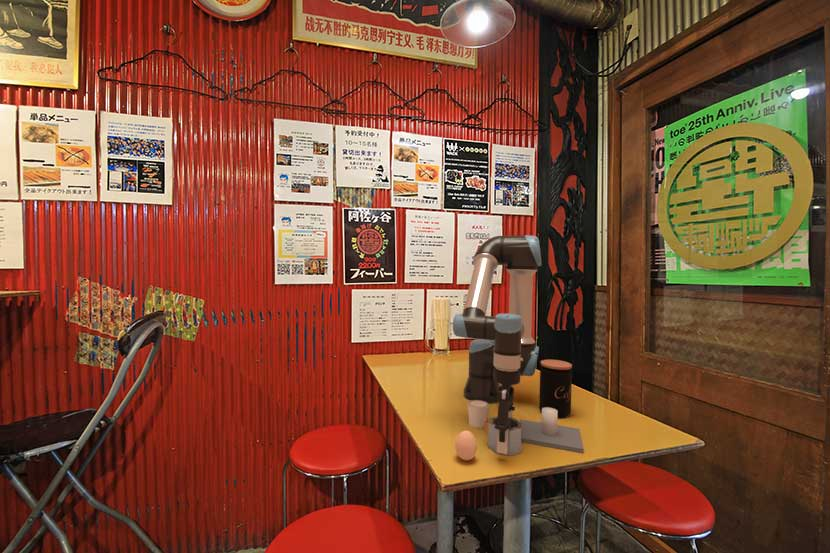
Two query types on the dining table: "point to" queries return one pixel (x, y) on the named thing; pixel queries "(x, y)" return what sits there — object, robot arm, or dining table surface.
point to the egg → (466, 445)
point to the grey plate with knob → (551, 433)
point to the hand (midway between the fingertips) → (504, 441)
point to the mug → (513, 435)
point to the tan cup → (477, 413)
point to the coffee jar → (556, 386)
